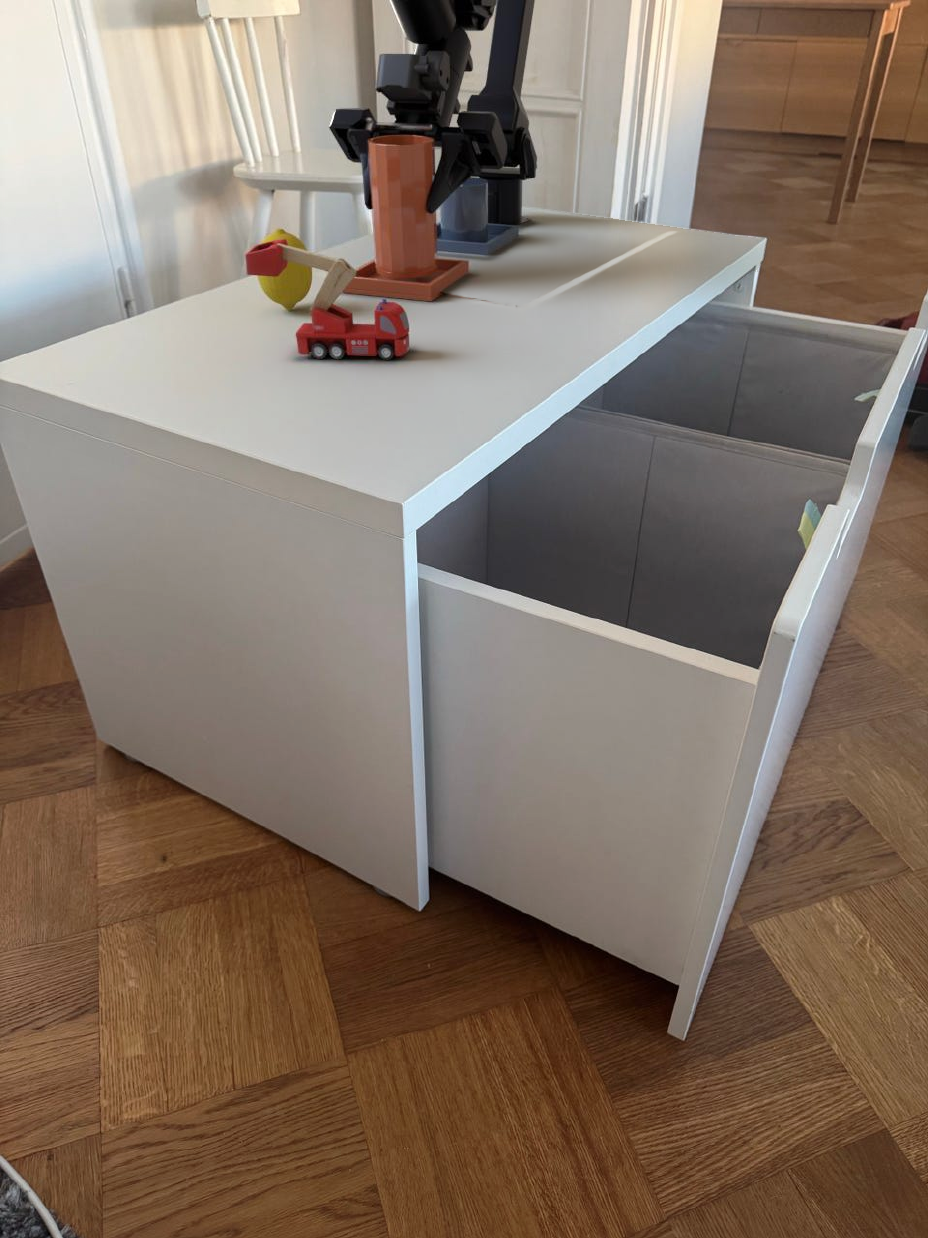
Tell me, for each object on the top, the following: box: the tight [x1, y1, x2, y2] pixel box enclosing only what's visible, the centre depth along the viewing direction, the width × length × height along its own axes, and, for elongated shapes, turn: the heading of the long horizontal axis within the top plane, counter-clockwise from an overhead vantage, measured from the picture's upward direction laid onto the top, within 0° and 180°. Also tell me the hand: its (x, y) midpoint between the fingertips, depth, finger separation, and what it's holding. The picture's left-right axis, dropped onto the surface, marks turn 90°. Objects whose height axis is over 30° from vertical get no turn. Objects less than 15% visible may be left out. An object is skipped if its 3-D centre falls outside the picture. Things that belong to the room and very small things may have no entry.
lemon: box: [257, 227, 313, 311], centre depth 93 cm, size 6×6×8 cm
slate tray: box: [436, 221, 520, 256], centre depth 116 cm, size 11×11×2 cm
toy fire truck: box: [244, 239, 410, 361], centre depth 81 cm, size 3×14×10 cm, turn 84°
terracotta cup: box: [368, 135, 438, 279], centre depth 98 cm, size 7×7×13 cm
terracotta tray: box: [342, 257, 470, 302], centre depth 102 cm, size 11×11×2 cm
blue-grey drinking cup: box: [439, 177, 488, 243], centre depth 114 cm, size 6×6×7 cm
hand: (398, 208), depth 97 cm, fingers closed on terracotta cup, 7 cm apart
